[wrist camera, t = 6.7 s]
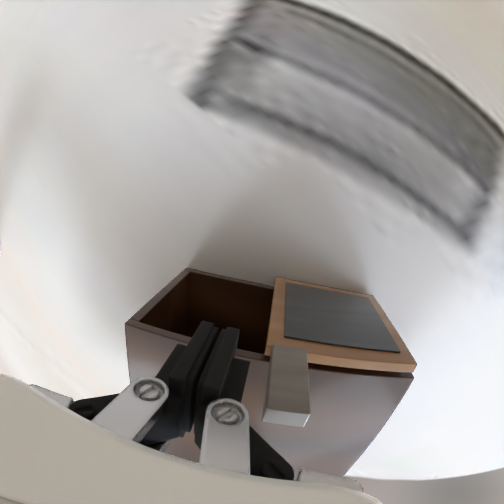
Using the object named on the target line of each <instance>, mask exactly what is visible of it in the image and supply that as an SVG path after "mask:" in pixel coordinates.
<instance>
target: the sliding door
mask: <svg viewBox="0 0 504 504" xmlns="http://www.w3.org/2000/svg"><path fill="white" fill-rule="evenodd" d="M264 354H265V355H268V356H270V360H269V368H268V376H267V384H266V391H265V399H264V406H263V413H262V421H263V422H267V423H273V424H280V425H287V426H294V427H304V426H305V424H306V422H307V420H308V418H309V416H310V414H311V408H310V390H309V375H308V363H315V364H322V365H330V366H338V367H346V368H356V369H366V370H378V371H392V372H411V373H412V372H413V371H414V369H415V368H416V366H417V363H416V361H415V360H414V358H413V356H412V355H411V353H410V352H409V350H408V348H407V347H406V345H405V343H404V342H403V340H402V339H401V337H400V336H399V334H398V332H397V331H396V329H395V328H394V326H393V325H392V323H391V322H390V320H389V319H388V317H387V316H386V314H385V313H384V311H383V310H382V308H381V307H380V305H379V304H378V302H377V301H376V299H375V298H374V296H373V295H367V294H362V293H356V292H351V291H346V290H340V289H335V288H330V287H324V286H319V285H314V284H309V283H303V282H298V281H293V280H288V279H283V278H278V277H276V279H275V283H274V291H273V298H272V305H271V312H270V319H269V326H268V332H267V339H266V346H265V352H264Z"/></svg>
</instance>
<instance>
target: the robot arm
mask: <svg viewBox="0 0 504 504" xmlns="http://www.w3.org/2000/svg"><path fill="white" fill-rule="evenodd" d="M218 330H219V328H217V327H215V324H214V323H210V322H206V321H202V322H201V323H200V325H199V327H198V328H197V330H196V332H195V333H194V335H193V336H192V338H191V340H190V341H189V343H188V345H187V346H185V345H182V344H177V345H176V347H175V348H174V350H173V351H172V353H171V354H170V356H169V357H168V359H167V360H166V362H165V363H164V365H163V366H162V368H161V369H160V371H159V372H158V374H157V375H156V377H141V378H138V379H136V380H134V381H133V382H132V383H131V384H130V385H129V386H127V387H126V388H125V389H124V390H123V391H122V392H121V393H120V394H114V395H108V396H102V397H95V398H88V399H81V400H78V401H73V399H72V398H70V397H67V396H64V395H61V394H58V393H56V392H53V391H50V390H47V389H45V388H42V387H40V386H37V385H33V384H31V385H28V384H26V383H24V382H22V381H20V380H18V379H16V378H13V377H10V376H7V375H4V374H0V504H383V503H382V502H381V501H380V500H378V499H376V498H375V497H373V496H370V495H368V494H366V493H363V488H362V486H361V484H360V483H358V482H357V481H356V480H353V479H350V478H344V477H339V476H334V475H329V474H324V473H320V472H316V471H311V470H307V469H304V468H302V469H301V470H298V469H294V468H292V466H291V465H290V464H289V463H288V462H287V461H286V460H285V459H284V458H283V457H282V456H281V455H280V454H278V453H277V452H276V451H275V450H274V449H273V448H272V447H271V446H270V445H269V444H268V443H267V442H266V441H265V440H264V439H263V438H262V437H261V436H260V435H259V434H258V433H257V432H256V431H255V430H254V429H253V428H252V427H251V426H250V425H249V414H248V410H247V409H246V407H245V406H244V405H243V404H241V400H242V396H243V392H244V387H245V383H246V379H247V374H248V370H249V365H250V361H247V360H242V359H238V358H235V354H236V349H237V343H238V338H239V332H240V329H236V328H232V327H227V329H222V330H221V332H220V334H219V336H218ZM217 338H218V339H217ZM193 425H194V434H195V440H194V442H195V444H196V445H197V446H198V448H199V449H200V450H201V451H200V459H199V464H198V463H195V462H191V461H188V460H185V459H181V458H178V457H175V456H172V455H169V454H166V453H164V452H165V450H166V449H167V447H168V446H169V444H170V442H171V439H174V438H178V437H182V438H183V437H184V434H185V432H189V433H190V432H191V430H192V427H193Z"/></svg>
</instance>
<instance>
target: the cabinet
mask: <svg viewBox="0 0 504 504" xmlns="http://www.w3.org/2000/svg"><path fill="white" fill-rule="evenodd" d="M273 291H274V287H273V286H268V285H263V284H259V283H254V282H249V281H244V280H239V279H235V278H230V277H225V276H221V275H216V274H211V273H207V272H202V271H198V270H193V269H189V268H186V269H185V270H183V271H182V272H181V273H180V274H179V275H178V276H177V277H176V278H174V279H173V280H172V281H171V282H170V283H169V284H168V285H167V286H165V287H164V288H163V289H162V290H161V291H160V292H159V293H158V294H156V295H155V296H154V297H153V298H152V299H151V300H150V301H149V302H148V303H147V304H145V305H144V306H143V307H142V308H141V309H140V310H139V311H138V312H137V313H136V314H134V315H133V316H132V317H131V318H130V319H129V320H128V321H127V322H126V323H125V334H126V347H127V358H128V368H129V376H130V384H131V383H132V382H133V381H134V380H136V379H138V378H141V377H156V375H157V374H158V372H159V371H160V369H161V368H162V366H163V365H164V363H165V362H166V360H167V359H168V357H169V356H170V354H171V353H172V351H173V350H174V348H175V347H176V345H177V344H182V345H185V346H187V345H188V343H189V341H190V340H191V338H192V336H193V335H194V333H195V332H196V330H197V328H198V327H199V325H200V323H201V322H202V321H206V322H210V323H214V324H215V327H217V328H219V330H218V336H219V334H220V332H221V330H222V329H227V327H232V328H236V329H240V332H239V338H238V343H237V349H236V354H235V358H238V359H242V360H247V361H250V365H249V370H248V374H247V379H246V383H245V387H244V392H243V396H242V400H241V404H243V405H244V406H245V407H246V409H247V410H248V414H249V425H250V426H251V427H252V428H253V429H254V430H255V431H256V432H257V433H258V434H259V435H260V436H261V437H262V438H263V439H264V440H265V441H266V442H267V443H268V444H269V445H270V446H271V447H272V448H273V449H274V450H275V451H276V452H277V453H278V454H280V455H281V456H282V457H283V458H284V459H285V460H286V461H287V462H288V463H289V464H290V465H291V466H292V468H294V469H298V470H301V469H302V468H304V469H307V470H311V471H316V472H320V473H324V474H329V475H334V476H339V477H343V476H344V475H345V474H346V472H347V471H348V470H349V469H350V468H351V467H352V466H353V464H354V463H355V462H356V461H357V460H358V459H359V457H360V456H361V455H362V454H363V452H364V451H365V450H366V449H367V448H368V446H369V445H370V444H371V442H372V441H373V440H374V438H375V437H376V436H377V434H378V433H379V432H380V430H381V429H382V428H383V426H384V425H385V423H386V422H387V420H388V419H389V418H390V416H391V415H392V413H393V412H394V410H395V409H396V407H397V406H398V404H399V402H400V401H401V399H402V398H403V396H404V394H405V393H406V391H407V389H408V388H409V386H410V384H411V383H412V381H413V379H414V376H413V375H412V373H411V372H392V371H378V370H366V369H356V368H346V367H338V366H330V365H322V364H315V363H308V375H309V390H310V408H311V414H310V416H309V418H308V420H307V422H306V424H305V426H304V427H294V426H287V425H280V424H273V423H267V422H263V421H262V413H263V406H264V399H265V391H266V384H267V376H268V368H269V360H270V356H268V355H265V354H264V352H265V346H266V339H267V332H268V326H269V319H270V312H271V305H272V298H273ZM217 339H218V338H217ZM194 440H195V434H194V425H193V427H192V430H191V432H190V433H189V432H185V434H184V437H183V438H182V437H178V438H174V439H171V442H170V444H169V446H168V447H167V449H166V450H165V452H164V453H167V454H170V455H173V456H176V457H179V458H182V459H185V460H189V461H192V462H196V463H199V459H200V451H201V450H200V449H199V448H198V446H197V445H196V444H195V442H194Z"/></svg>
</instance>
